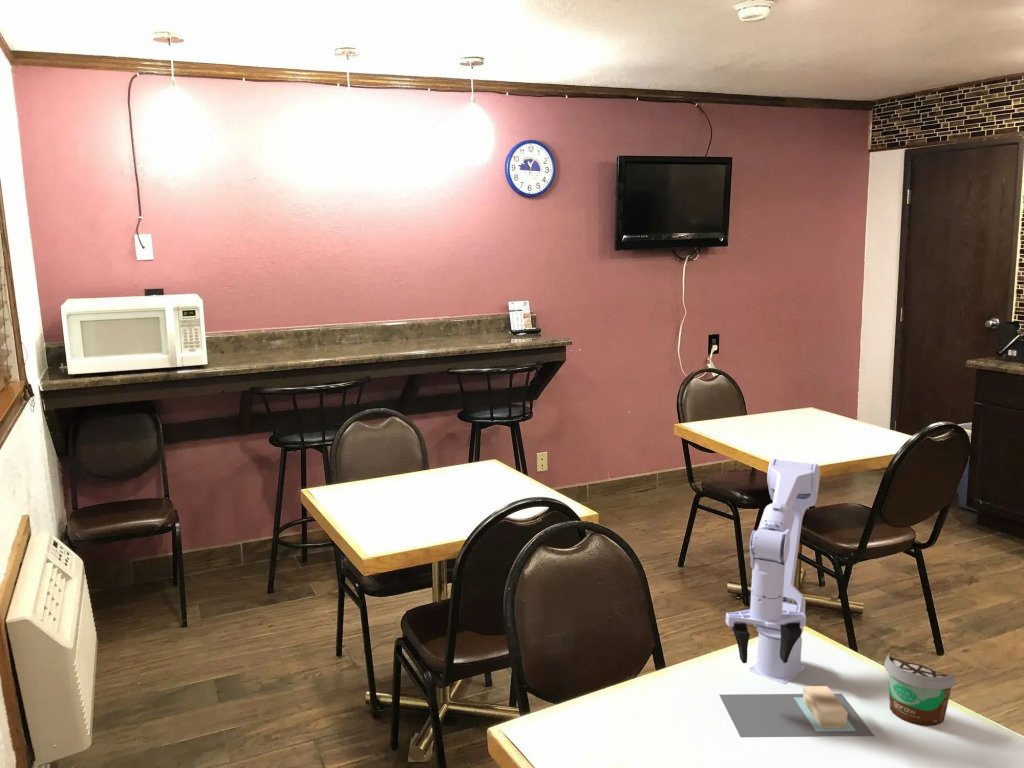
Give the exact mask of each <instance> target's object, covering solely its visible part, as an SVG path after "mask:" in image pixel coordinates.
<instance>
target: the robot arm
mask: <svg viewBox="0 0 1024 768" xmlns="http://www.w3.org/2000/svg"><path fill="white" fill-rule="evenodd" d="M767 468H768V469H767V476H766V480H767V481H766V482H767V486H768V487H767V488H768V492H769V493H768V494H769V495H770V500H772V503H769V504H767V505H766V506H765V508H764V509H763V513H762V516H761V519H760V522H759V525H758V527H757V530H755V529H754V530H752V531H751V535H750V541H749V557H750V568H751V569H752V570H751V584H750V585H751V589H750V605H749V606H750V607H749V609H744V610H738V611H733V612H725V624H726V625H727V626H728V627H729V628H731V629H732V632H733V634H734V636H735V639H736V643H737V647H738V653H739V659H740V661H741V662H742V663H741V664H747V662H748V645H749V640H750V636H751V634H750V632H749V630H748V627H747V626H753V627H756V632H757V633H758V638H757V639H758V641H757V660H756V663H755V664H754V665H752V666H751V667H749V668H748V671H749V672H752V673H754V674H757V675H758V676H762V677H764V678H766V679H769V680H772V681H775V682H777V683H780V684H782V685H786V684H787V683H788V682H790V681H791V680H792V679H793V678H795V677H796V676H797V675H798V674H799V673H800V672H801V671H804V669H805V666H804V665H802V664H801V662H802V661H801V659H802V645H803V638H802V634H803V631H804V628H805V627H806V625H807V616H806V605H807V604H806V603H807V602H806V598H805V596H804V595H803V594H802V593H801V592H800V591H799V590H798V589H797V588H796V586H794V584H795V577H796V571H797V561H798V553H799V547H800V539H801V533H802V531H801V530H802V525H803V523H802V522H803V520H804V519H803V518H804V515H805V513H806V510H807V509H808V508H810V507H814V506H815V505H816V501H817V500H818V494H819V486H820V477H821V469H820V466H819V465H818V463H808V462H797V461H790V460H780V459H776V458H773V459H771V460H770V461H769V464H768V467H767Z"/></svg>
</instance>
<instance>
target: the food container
mask: <svg viewBox="0 0 1024 768" xmlns="http://www.w3.org/2000/svg"><path fill="white" fill-rule="evenodd" d="M883 664H884V669H885V671H886V672H887V673H888V674H887V675H888V697H889V698H888V701H889V710H890V711H891V712H892V714H893V715H895V716H896V717H897V718H898V719H900V720H902V721H904V722H907V723H910V724H913V725H917V726H923V727H934V726H939V725H941V724H942V723H944V721H945V718H946V713H947V708H948V704H949V701H950V700H949V699H950V695H951V691H952V688H953V687H955V686H956V685H957V684H958V683H957V678H956V677H957V676H955V672H952V673H951V674H950V675H949V674H945V673H941V672H939V671H936V670H933V669H932V668H929V667H927V666H925V665H922V664H919V663H913V662H909V661H904V660H901V659H898V658H895V657H892V656H891V652H888V654H887V656H886V657H885V661H884V663H883Z"/></svg>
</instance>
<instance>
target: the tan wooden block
mask: <svg viewBox="0 0 1024 768" xmlns="http://www.w3.org/2000/svg"><path fill="white" fill-rule="evenodd" d="M802 694H803V702H804V703H805V705H806V706H807V707H808V709H809V710H810V712H811V713H812V715H813V716H814V717H815V719H816V720H817V722H818V723H819V725H820V726H821V727H822V728H846V726H847V713H848V712H847V711H846V710H845V708H844V707H843V706H842V705H841V703H840V702H839V701H838V699H837V698H836V697H835V696H834V694H835V693H833V692H832V690H831V689H830V688H829V687H828V685H813V686H812V685H809V686H808V685H807V686H806V685H805V686H803V693H802Z"/></svg>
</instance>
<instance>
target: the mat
mask: <svg viewBox="0 0 1024 768" xmlns="http://www.w3.org/2000/svg"><path fill="white" fill-rule="evenodd" d="M833 694H834V696H835V697H836V698H837V699H838V701H839V702H840V703H841V705H842V706H843V707H844V708H845V710H846V711H847V712H848V713H847V726H846V728H822V727H821V726H820V725H819V723H818V722H817V720H816V719H815V717H814V716H813V715H812V713H811V712H810V710H809V709H808V707H807V706H806V705H805V703H804V702H803V693H770V694H769V693H763V694H762V693H761V694H759V693H758V694H757V693H756V694H751V693H750V694H748V693H746V694H744V693H743V694H741V693H740V694H729V693H728V694H719V697H720V700H721V702H722V703H723V705H724V708H725V710H726V711H727V713H728V715H729V717H730V719H731V721H732V723H733V725H734V727H735V729H736V730H737V733H738V735H739V737H740V738H790V737H793V738H798V737H799V738H801V737H804V738H805V737H816V738H817V737H875V734H874V733H873V731H872V730H871V729H870V728H869V727H868V725H867V724H866V723H865V722H864V721H863V719H862V718H861V717H860V715H859V714H858V713H857V711H855V708H853V706H852V705H851V704H850V703H849V701H848V700H847V699H846V697H845V696H844V695H843V693H833Z"/></svg>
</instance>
